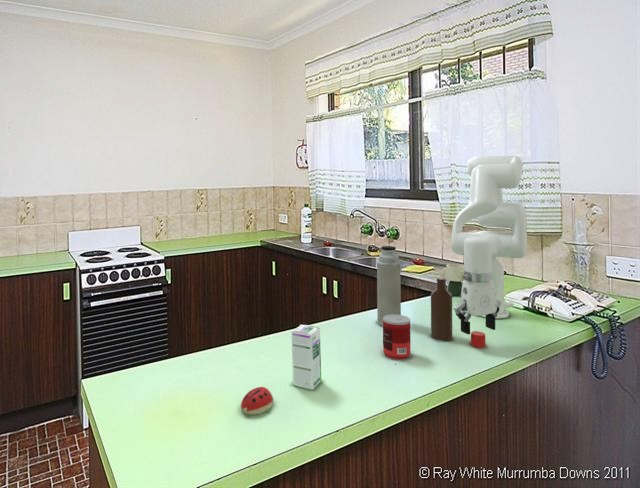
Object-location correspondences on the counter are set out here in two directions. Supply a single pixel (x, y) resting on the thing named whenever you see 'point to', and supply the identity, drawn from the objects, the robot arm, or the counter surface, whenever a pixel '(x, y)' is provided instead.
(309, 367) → the syrup box
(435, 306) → the bottle
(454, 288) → the character mug
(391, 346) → the canned food
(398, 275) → the thermos bottle
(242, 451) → the counter surface
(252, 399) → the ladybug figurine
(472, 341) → the cap
